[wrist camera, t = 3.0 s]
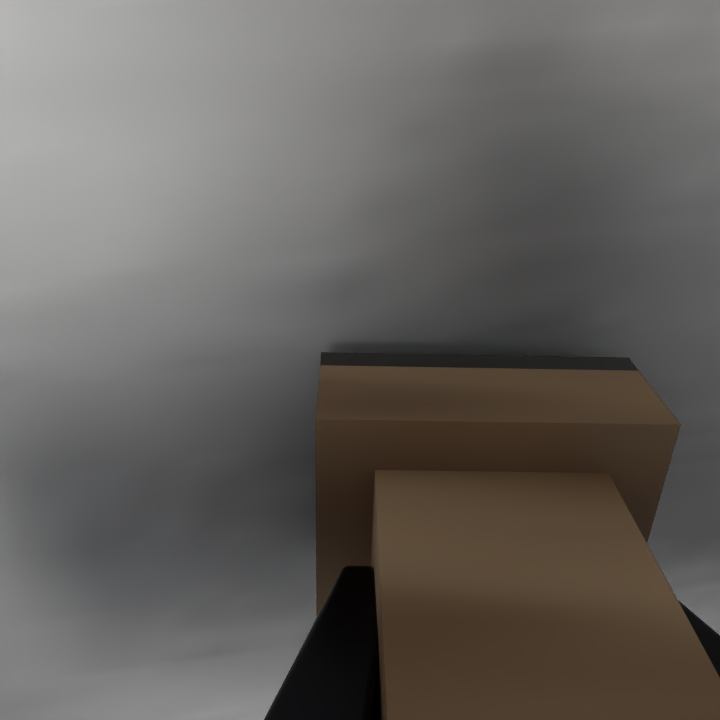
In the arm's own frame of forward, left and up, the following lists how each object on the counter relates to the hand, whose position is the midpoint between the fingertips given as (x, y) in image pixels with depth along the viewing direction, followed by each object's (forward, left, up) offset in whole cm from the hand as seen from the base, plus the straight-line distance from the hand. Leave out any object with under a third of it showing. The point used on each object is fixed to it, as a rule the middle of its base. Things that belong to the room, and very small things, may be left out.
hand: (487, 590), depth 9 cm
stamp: (0, 0, -2) cm, 2 cm away
